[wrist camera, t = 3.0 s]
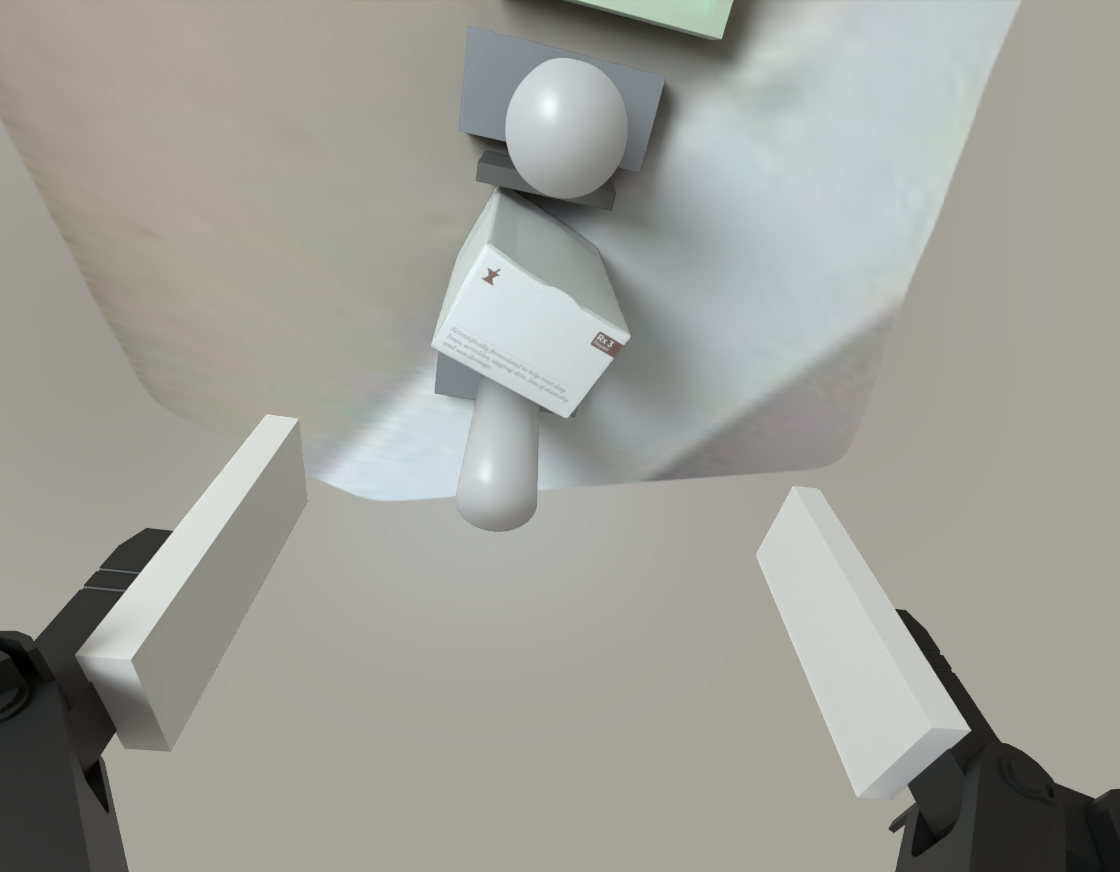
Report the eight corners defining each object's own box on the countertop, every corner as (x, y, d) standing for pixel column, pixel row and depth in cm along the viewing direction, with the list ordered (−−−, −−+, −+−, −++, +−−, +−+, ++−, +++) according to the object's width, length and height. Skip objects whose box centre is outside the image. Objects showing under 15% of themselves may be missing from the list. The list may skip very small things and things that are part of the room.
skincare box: (458, 253, 38) (415, 347, 26) (502, 173, 35) (478, 237, 23) (559, 316, 41) (563, 429, 28) (607, 247, 38) (636, 339, 26)
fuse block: (438, 380, 44) (391, 521, 30) (472, 27, 31) (415, 7, 18) (573, 403, 45) (584, 547, 32) (659, 75, 32) (736, 89, 19)
